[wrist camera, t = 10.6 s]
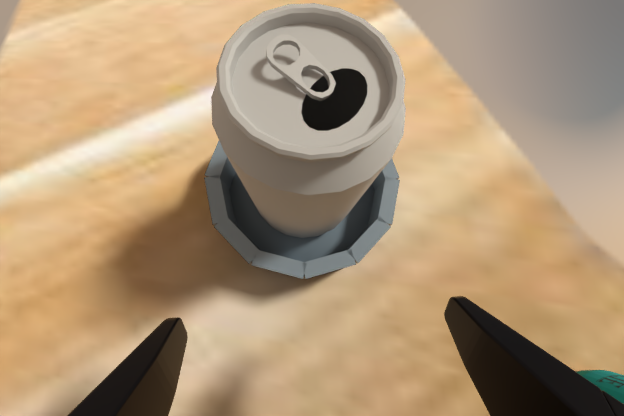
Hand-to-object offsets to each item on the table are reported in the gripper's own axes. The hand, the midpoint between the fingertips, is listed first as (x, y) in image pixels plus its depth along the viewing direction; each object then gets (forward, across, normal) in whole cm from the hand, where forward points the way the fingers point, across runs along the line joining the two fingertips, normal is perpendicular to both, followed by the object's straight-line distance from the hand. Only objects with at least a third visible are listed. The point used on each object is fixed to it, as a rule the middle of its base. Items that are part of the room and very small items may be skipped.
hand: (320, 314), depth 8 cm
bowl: (+13, 0, +2) cm, 13 cm away
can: (+12, 0, +1) cm, 12 cm away
